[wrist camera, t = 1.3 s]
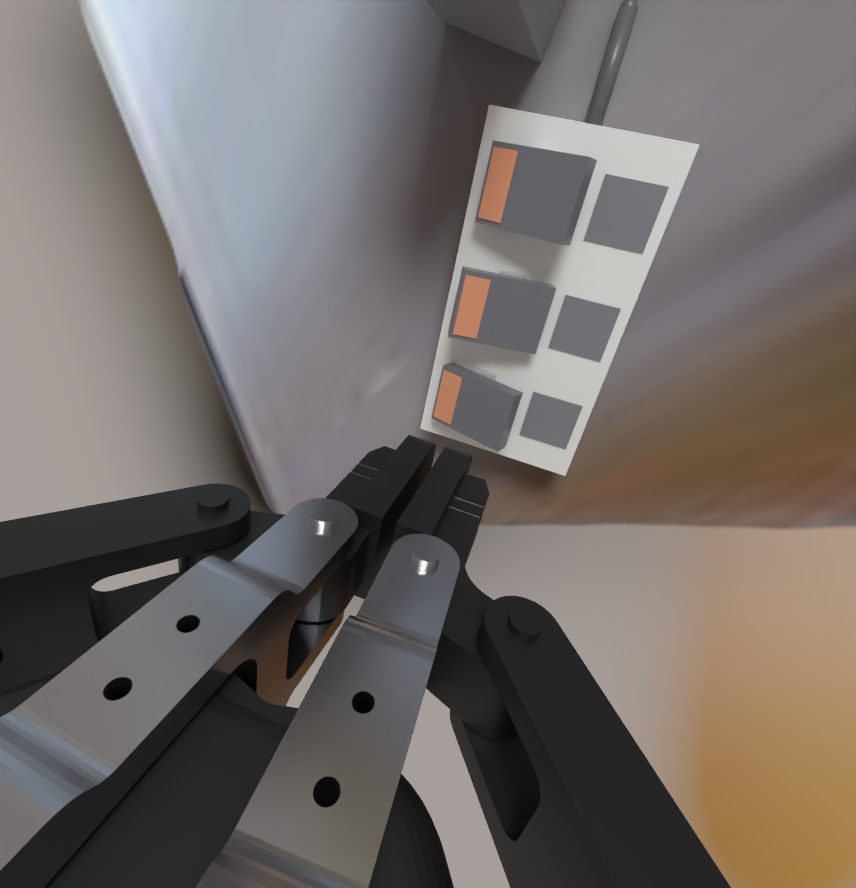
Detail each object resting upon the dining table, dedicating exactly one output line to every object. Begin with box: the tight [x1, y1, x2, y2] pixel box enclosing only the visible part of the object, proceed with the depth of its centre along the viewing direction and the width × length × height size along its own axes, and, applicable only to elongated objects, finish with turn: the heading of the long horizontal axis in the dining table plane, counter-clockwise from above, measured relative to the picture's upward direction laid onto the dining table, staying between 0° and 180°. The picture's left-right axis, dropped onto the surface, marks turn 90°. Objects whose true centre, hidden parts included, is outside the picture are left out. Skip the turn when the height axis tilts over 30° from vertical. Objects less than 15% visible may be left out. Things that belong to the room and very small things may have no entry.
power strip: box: [420, 0, 699, 476], centre depth 32 cm, size 12×28×5 cm, turn 168°
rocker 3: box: [431, 362, 523, 452], centre depth 34 cm, size 6×4×1 cm
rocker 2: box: [448, 266, 556, 354], centre depth 31 cm, size 6×4×1 cm
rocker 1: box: [475, 140, 597, 246], centre depth 28 cm, size 6×4×1 cm
